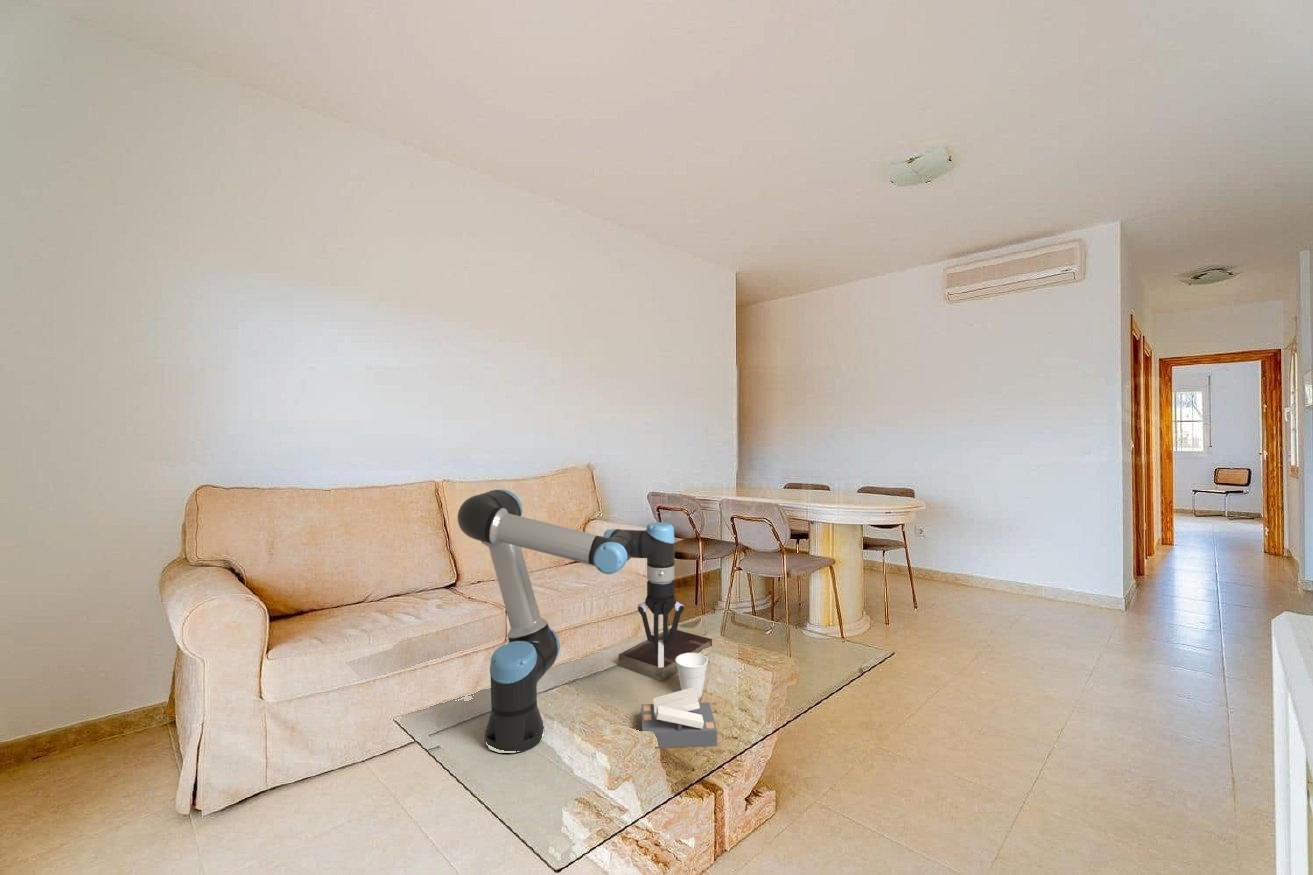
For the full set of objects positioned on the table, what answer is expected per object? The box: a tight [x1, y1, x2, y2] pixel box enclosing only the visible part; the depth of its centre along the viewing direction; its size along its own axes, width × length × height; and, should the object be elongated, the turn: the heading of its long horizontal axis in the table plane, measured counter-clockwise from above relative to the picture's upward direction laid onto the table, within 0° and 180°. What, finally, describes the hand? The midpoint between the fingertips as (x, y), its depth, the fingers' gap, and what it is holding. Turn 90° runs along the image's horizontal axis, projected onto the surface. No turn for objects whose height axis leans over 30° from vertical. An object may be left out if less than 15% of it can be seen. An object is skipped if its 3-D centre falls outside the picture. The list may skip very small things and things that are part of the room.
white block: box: [654, 695, 700, 720], centre depth 148 cm, size 12×4×2 cm, turn 92°
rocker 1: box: [652, 687, 698, 707], centre depth 153 cm, size 12×4×2 cm, turn 92°
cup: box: [675, 653, 709, 700], centre depth 168 cm, size 10×10×11 cm
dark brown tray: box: [617, 627, 713, 683], centre depth 194 cm, size 29×19×5 cm, turn 141°
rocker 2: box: [656, 706, 704, 729], centre depth 144 cm, size 12×4×2 cm, turn 94°
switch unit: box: [640, 702, 718, 749], centre depth 149 cm, size 19×14×6 cm
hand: (660, 665), depth 153 cm, fingers closed
